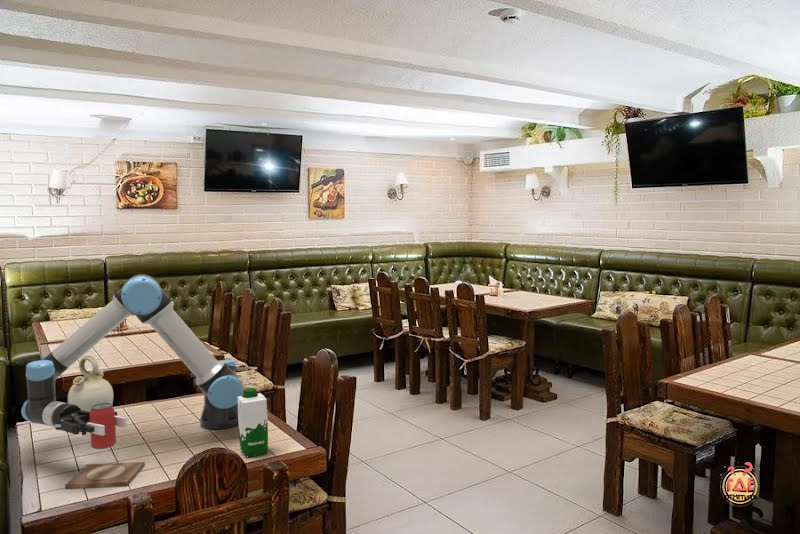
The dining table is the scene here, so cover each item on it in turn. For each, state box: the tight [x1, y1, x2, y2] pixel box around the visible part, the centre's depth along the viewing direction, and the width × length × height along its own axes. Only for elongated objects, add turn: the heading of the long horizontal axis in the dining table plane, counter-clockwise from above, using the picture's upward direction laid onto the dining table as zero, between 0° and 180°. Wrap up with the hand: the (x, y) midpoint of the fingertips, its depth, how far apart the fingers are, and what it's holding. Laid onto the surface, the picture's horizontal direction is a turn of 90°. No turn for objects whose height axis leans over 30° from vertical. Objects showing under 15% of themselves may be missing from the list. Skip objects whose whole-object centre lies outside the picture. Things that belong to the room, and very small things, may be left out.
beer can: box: [89, 403, 117, 450], centre depth 175 cm, size 7×7×12 cm
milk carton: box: [238, 387, 269, 458], centre depth 192 cm, size 9×9×20 cm
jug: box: [67, 355, 115, 425], centre depth 226 cm, size 15×16×25 cm
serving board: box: [64, 461, 145, 490], centre depth 177 cm, size 17×14×2 cm
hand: (114, 426), depth 173 cm, fingers closed on beer can, 7 cm apart
